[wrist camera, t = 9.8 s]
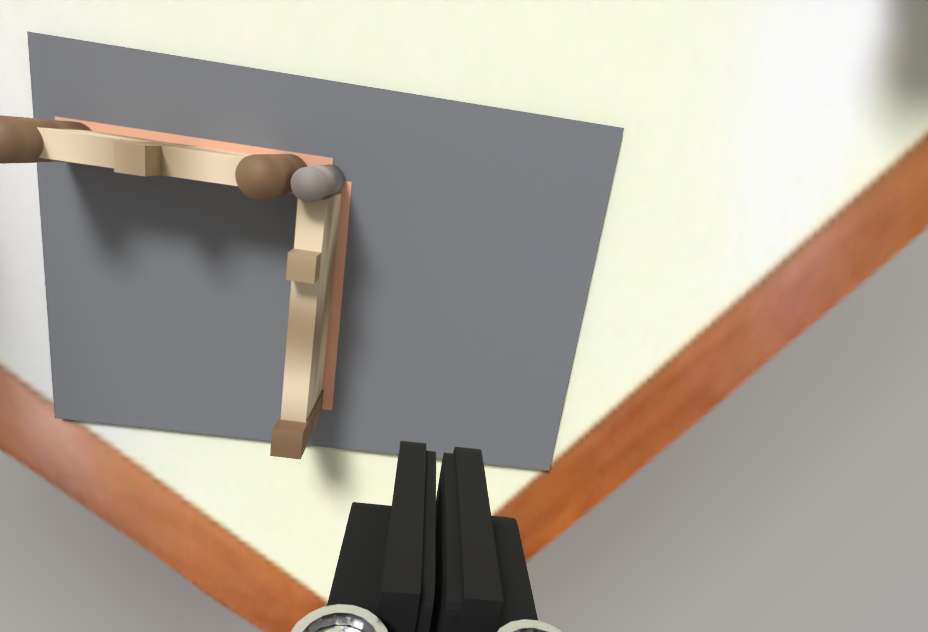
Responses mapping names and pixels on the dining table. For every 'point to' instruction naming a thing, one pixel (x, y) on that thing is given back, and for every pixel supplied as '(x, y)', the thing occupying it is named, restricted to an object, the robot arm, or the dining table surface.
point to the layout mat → (356, 260)
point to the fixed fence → (144, 156)
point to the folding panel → (308, 305)
